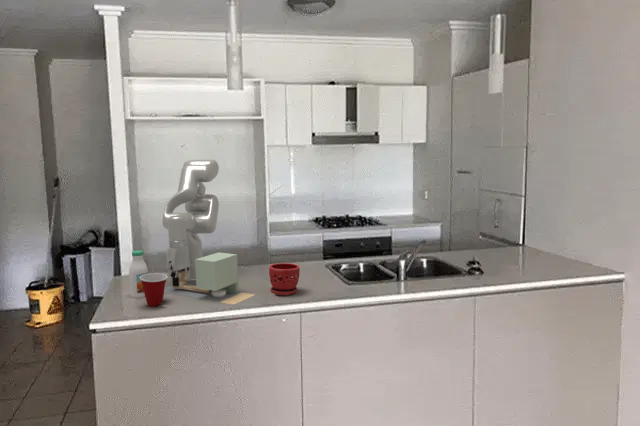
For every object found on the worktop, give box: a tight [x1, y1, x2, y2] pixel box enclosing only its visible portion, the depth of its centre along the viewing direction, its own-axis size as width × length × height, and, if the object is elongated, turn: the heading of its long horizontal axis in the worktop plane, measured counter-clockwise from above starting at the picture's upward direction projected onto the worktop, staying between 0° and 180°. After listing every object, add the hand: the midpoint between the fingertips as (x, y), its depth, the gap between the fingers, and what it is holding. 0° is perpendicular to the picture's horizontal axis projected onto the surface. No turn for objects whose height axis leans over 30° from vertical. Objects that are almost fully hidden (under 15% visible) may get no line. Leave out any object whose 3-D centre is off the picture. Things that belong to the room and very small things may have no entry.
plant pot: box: [268, 262, 301, 296], centre depth 233 cm, size 13×13×12 cm
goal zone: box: [220, 292, 255, 306], centre depth 223 cm, size 15×7×1 cm, turn 151°
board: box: [164, 283, 242, 303], centre depth 233 cm, size 15×36×1 cm, turn 61°
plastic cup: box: [140, 272, 168, 308], centre depth 218 cm, size 11×11×12 cm
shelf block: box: [195, 252, 240, 293], centre depth 227 cm, size 15×10×18 cm, turn 151°
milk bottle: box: [128, 249, 149, 298], centre depth 229 cm, size 8×8×20 cm
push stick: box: [173, 270, 212, 293], centre depth 233 cm, size 4×20×7 cm, turn 60°
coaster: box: [212, 289, 226, 297], centre depth 227 cm, size 6×6×2 cm
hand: (179, 284), depth 238 cm, fingers closed on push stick, 4 cm apart
